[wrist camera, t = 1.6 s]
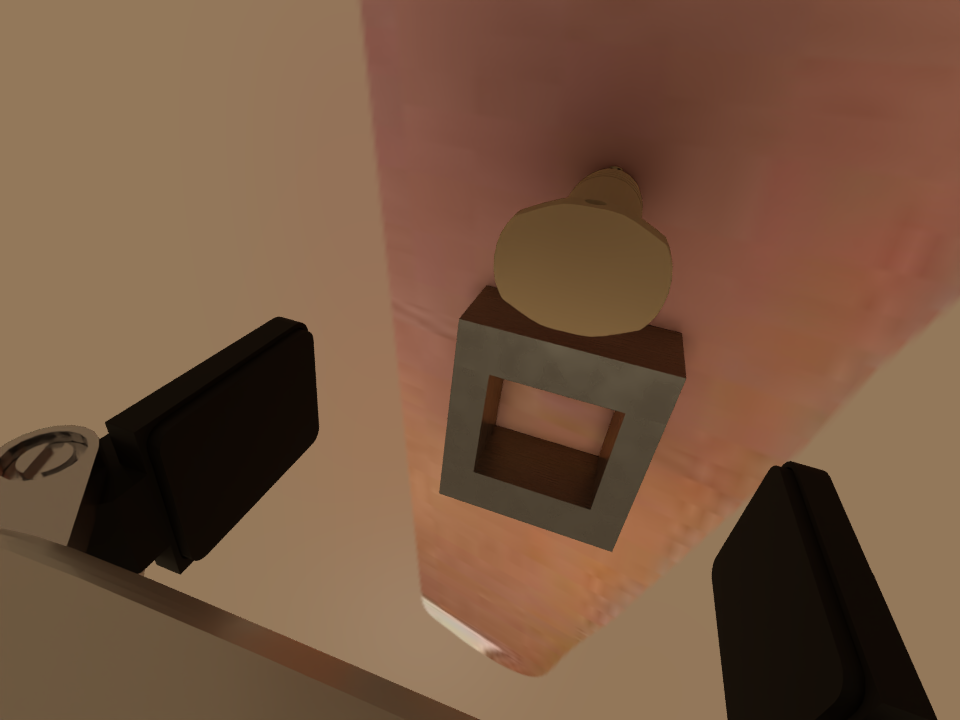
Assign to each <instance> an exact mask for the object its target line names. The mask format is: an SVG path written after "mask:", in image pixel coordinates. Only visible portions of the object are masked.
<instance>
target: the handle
mask: <svg viewBox="0 0 960 720" xmlns="http://www.w3.org/2000/svg"><path fill="white" fill-rule="evenodd" d="M642 207H643V204H642V197H641V193H640V190H639V187H638V184H637V183H636V182H635V181H634V180H633V178H632V177H631V176H629V175H628V174H627V173H625V172H623V170H622V168H620V167H617V166H612V167H610V168H609V169H602V170H599V171H596V172H594V173H592V174H590V175H588V176H587V177H586V178H584V179H583V180H582V181H581V182H579V183H578V185H577V186H576V187H575V188H574V189H573V191H572V192H571V194H570V195H569V197H568V198H563V199H558V200H554V201H549V202H545V203H542V204H538V205H535V206H532V207H528V208H525V209H522V210H520V211H519V212H518V213H517V214H515V215H514V216H513V218H512V219H511V220H510V221H509V222H508V223H507V225H506V226H505V228H504V229H503V230H502V232H501V234H500V237H499V239H498V242H497V245H496V250H495V255H494V277H495V282H496V285H497V288H498V291H499V293H500V295H501V297H502V299H504V300H505V301H506V302H508V303H509V304H510V305H512V306H513V307H514V308H516V309H517V310H518V311H520V312H521V313H522V314H524V315H525V316H527V317H528V318H529V319H531V320H533V321H535V322H536V323H538V324H540V325H543V326H546V327H549V328H552V329H555V330H560V331H564V332H568V333H572V334H576V335H582V336H589V337H594V336H608V335H614V334H621V333H627V332H632V331H638V330H641V329H642V328H644V327H645V326H646V325H648V324H649V323H650V322H651V321H652V320H653V319H654V318H655V317H656V316H657V314H658V313H659V311H660V310H661V308H662V306H663V304H664V302H665V300H666V298H667V295H668V293H669V289H670V285H671V281H672V267H673V266H672V258H671V252H670V247H669V245H668V242H667V239H666V237H665V236H664V235H662V234H661V233H660V232H659V231H658V230H656V229H655V228H654V227H653V226H651V225H650V224H649V223H647V222H646V221H645V220H643V219H642V218H641V217H642Z"/></svg>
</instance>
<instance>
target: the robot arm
mask: <svg viewBox="0 0 960 720" xmlns="http://www.w3.org/2000/svg"><path fill="white" fill-rule="evenodd" d="M105 424H106V427H107V429H108V432H109V434H107V435H106V436H104V437H102V438H101V439H99V437H98V436H97V435H96V433H95V432H94V431H92V430H90V429H88V428H86V427H81V426H75V425H67V426H66V425H65V426H53V427H48V428H43V429H39V430H36V431H33V432H30V433H27V434H24V435H22V436H20V437H18V438H16V439H14V440H12V441H10V442H8V443H6V444H4V445H3V446H2V447H0V720H479V719H477V718H475V717H473V716H470V715H468V714H466V713H463V712H460V711H459V710H456V709H454V708H452V707H449V706H447V705H445V704H442V703H440V702H438V701H435V700H433V699H431V698H428V697H426V696H424V695H421V694H419V693H416V692H414V691H412V690H410V689H407V688H405V687H403V686H400V685H398V684H396V683H393V682H391V681H389V680H386V679H384V678H382V677H379V676H377V675H375V674H373V673H370V672H368V671H365V670H363V669H361V668H359V667H356V666H354V665H352V664H349V663H347V662H344V661H342V660H340V659H337V658H335V657H333V656H330V655H328V654H326V653H323V652H321V651H318V650H316V649H314V648H312V647H309V646H307V645H305V644H302V643H300V642H298V641H295V640H293V639H291V638H288V637H286V636H284V635H281V634H279V633H276V632H274V631H272V630H269V629H267V628H265V627H262V626H260V625H258V624H255V623H253V622H250V621H248V620H246V619H243V618H241V617H239V616H236V615H234V614H232V613H229V612H227V611H224V610H222V609H220V608H217V607H215V606H212V605H210V604H208V603H205V602H203V601H201V600H199V599H196V598H194V597H191V596H189V595H187V594H184V593H182V592H179V591H177V590H175V589H172V588H170V587H168V586H165V585H163V584H161V583H158V582H156V581H154V580H151V579H148V578H146V577H144V571H145V568H147V567H148V566H149V565H150V564H151V563H152V562H153V561H154V560H155V561H156V564H157V565H159V566H161V567H164V568H166V569H168V570H171V571H173V572H175V573H178V574H181V573H182V572H183V571H184V570H185V569H186V568H187V567H188V566H189V565H190V564H191V563H192V562H193V561H194V560H195V561H198V560H200V559H202V558H204V557H205V556H206V555H207V554H208V553H209V552H210V551H211V550H212V549H213V548H214V547H215V546H216V545H217V544H218V543H219V542H220V540H221V539H223V537H224V536H225V535H226V534H227V533H228V532H229V531H230V530H231V529H232V528H233V527H234V526H235V525H236V524H237V523H238V522H239V521H240V519H242V517H243V516H244V515H245V514H246V513H247V512H248V511H249V510H250V509H251V508H252V507H253V506H254V505H255V504H256V503H257V502H258V501H259V500H260V499H261V497H262V496H263V495H264V494H265V493H266V492H267V491H268V490H269V489H270V488H271V487H272V486H273V485H274V483H276V482H277V480H279V478H280V477H281V476H282V475H283V474H284V473H285V472H286V471H287V470H288V469H289V468H290V467H291V466H292V465H293V464H294V463H295V462H296V461H297V460H298V459H299V458H300V456H301V455H302V454H303V453H304V452H305V451H306V450H307V449H308V448H309V447H310V446H311V445H312V444H313V442H314V441H315V439H316V438H317V435H318V431H319V419H318V404H317V388H316V372H315V357H314V341H313V335H312V334H311V333H310V332H308V329H307V327H306V325H305V324H303V323H301V322H297V321H294V320H290V319H287V318H283V317H276V318H273V319H272V320H270V321H268V322H267V323H265V324H264V325H262V326H260V327H259V328H257V329H255V330H254V331H252V332H251V333H249V334H247V335H246V336H244V337H243V338H241V339H239V340H238V341H236V342H235V343H233V344H231V345H229V346H228V347H226V348H225V349H223V350H221V351H220V352H218V353H217V354H215V355H213V356H212V357H210V358H209V359H207V360H205V361H204V362H202V363H200V364H199V365H197V366H195V367H194V368H192V369H191V370H189V371H187V372H186V373H184V374H183V375H181V376H180V377H178V378H176V379H174V380H173V381H171V382H170V383H168V384H166V385H165V386H163V387H161V388H160V389H158V390H157V391H155V392H153V393H152V394H150V395H149V396H147V397H145V398H144V399H142V400H141V401H139V402H137V403H136V404H134V405H132V406H131V407H129V408H128V409H126V410H124V411H123V412H121V413H120V414H118V415H116V416H114V417H113V418H111V419H110V420H108V421H106V422H105ZM712 584H713V593H714V602H715V611H716V620H717V629H718V637H719V647H720V656H721V665H722V672H723V673H722V674H723V682H724V691H725V700H726V709H727V718H728V720H937V718H936V716H935V713H934V711H933V708H932V706H931V704H930V702H929V699H928V697H927V695H926V693H925V690H924V688H923V686H922V683H921V681H920V679H919V677H918V674H917V672H916V670H915V668H914V665H913V663H912V661H911V659H910V656H909V654H908V652H907V650H906V647H905V645H904V643H903V640H902V638H901V636H900V634H899V631H898V629H897V627H896V624H895V622H894V620H893V618H892V616H891V613H890V611H889V609H888V606H887V604H886V602H885V600H884V597H883V595H882V593H881V591H880V588H879V586H878V584H877V581H876V579H875V577H874V575H873V573H872V571H871V569H870V567H869V564H868V562H867V560H866V558H865V555H864V553H863V551H862V549H861V546H860V544H859V542H858V539H857V537H856V535H855V533H854V531H853V528H852V526H851V524H850V521H849V519H848V517H847V515H846V512H845V510H844V508H843V506H842V503H841V501H840V499H839V496H838V494H837V492H836V489H835V487H834V485H833V483H832V480H831V478H830V476H829V475H828V473H827V472H825V471H823V470H820V469H816V468H813V467H809V466H806V465H802V464H799V463H795V462H792V461H789V462H786V463H785V464H783V466H782V467H780V466H773V467H771V468H770V470H769V471H768V473H767V474H766V476H765V478H764V479H763V481H762V483H761V484H760V486H759V487H758V489H757V491H756V492H755V494H754V496H753V497H752V499H751V501H750V502H749V504H748V505H747V507H746V509H745V510H744V512H743V514H742V516H741V517H740V519H739V521H738V522H737V524H736V525H735V527H734V529H733V530H732V532H731V533H730V535H729V537H728V538H727V540H726V542H725V543H724V545H723V546H722V548H721V550H720V552H719V553H718V555H717V556H716V558H715V560H714V563H713V568H712Z"/></svg>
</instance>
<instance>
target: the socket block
mask: <svg viewBox="0 0 960 720" xmlns="http://www.w3.org/2000/svg"><path fill="white" fill-rule="evenodd" d="M504 379H506V380H509V381H513V382H516V383H520V384H523V385H527V386H530V387H534V388H538V389H541V390H545V391H548V392H552V393H555V394H559V395H562V396H566V397H569V398H573V399H576V400H580V401H584V402H587V403H591V404H594V405H598V406H601V407H605V408H608V409H612V410H615V411H614V414H613V417H612V420H611V423H610V426H609V429H608V431H607V434H606V437H605V440H604V443H603V446H602V449H601V452H600V454H599V457H598V456H595V455H591V454H588V453H585V452H582V451H578V450H575V449H572V448H568V447H565V446H562V445H558V444H555V443H552V442H549V441H545V440H542V439H539V438H535V437H532V436H529V435H525V434H522V433H519V432H516V431H512V430H509V429H506V428H502V427H499V426H496V425H495V423H496V418H497V412H498V407H499V402H500V396H501V391H502V385H503V380H504ZM685 380H686V371H685V360H684V350H683V339H682V333H678V332H674V331H670V330H666V329H662V328H658V327H654V326H650V325H646V326H645V327H644V328H642V329H641V330H638V331H632V332H627V333H621V334H614V335H608V336H594V337H589V336H582V335H576V334H572V333H568V332H564V331H560V330H555V329H552V328H549V327H546V326H543V325H540V324H538V323H536V322H535V321H533V320H531V319H529V318H528V317H527V316H525V315H524V314H522V313H521V312H520V311H518V310H517V309H516V308H514V307H513V306H512V305H510V304H509V303H508V302H506V301H505V300H504V299H502V297H501V295H500V293H499V291H498V288H495V287H491V286H486V287H485V288H484V289H483V290H482V292H481V293H480V294H479V295H478V296H477V298H476V299H475V300H474V301H473V303H472V304H471V305H470V306H469V307H468V309H467V310H466V311H465V312H464V314H463V315H462V316H461V317H460V318H459V324H458V333H457V342H456V351H455V359H454V368H453V377H452V386H451V395H450V403H449V412H448V421H447V430H446V438H445V447H444V456H443V465H442V473H441V482H440V491H439V493H440V494H443V495H446V496H449V497H452V498H454V499H457V500H460V501H463V502H466V503H469V504H472V505H475V506H478V507H481V508H484V509H487V510H490V511H493V512H496V513H499V514H502V515H505V516H508V517H510V518H513V519H516V520H519V521H522V522H525V523H528V524H531V525H534V526H537V527H540V528H543V529H546V530H549V531H552V532H555V533H558V534H561V535H563V536H566V537H569V538H572V539H575V540H578V541H581V542H584V543H587V544H590V545H593V546H596V547H599V548H602V549H605V550H608V551H611V552H612V551H613V548H614V546H615V544H616V541H617V539H618V537H619V534H620V532H621V530H622V527H623V525H624V523H625V520H626V518H627V516H628V513H629V511H630V509H631V506H632V504H633V502H634V499H635V497H636V495H637V492H638V490H639V488H640V485H641V483H642V481H643V478H644V476H645V474H646V471H647V469H648V467H649V464H650V462H651V460H652V457H653V455H654V453H655V450H656V448H657V446H658V443H659V441H660V439H661V436H662V434H663V432H664V429H665V427H666V425H667V422H668V420H669V418H670V415H671V413H672V411H673V408H674V406H675V404H676V401H677V399H678V397H679V394H680V392H681V390H682V387H683V385H684V383H685Z"/></svg>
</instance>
